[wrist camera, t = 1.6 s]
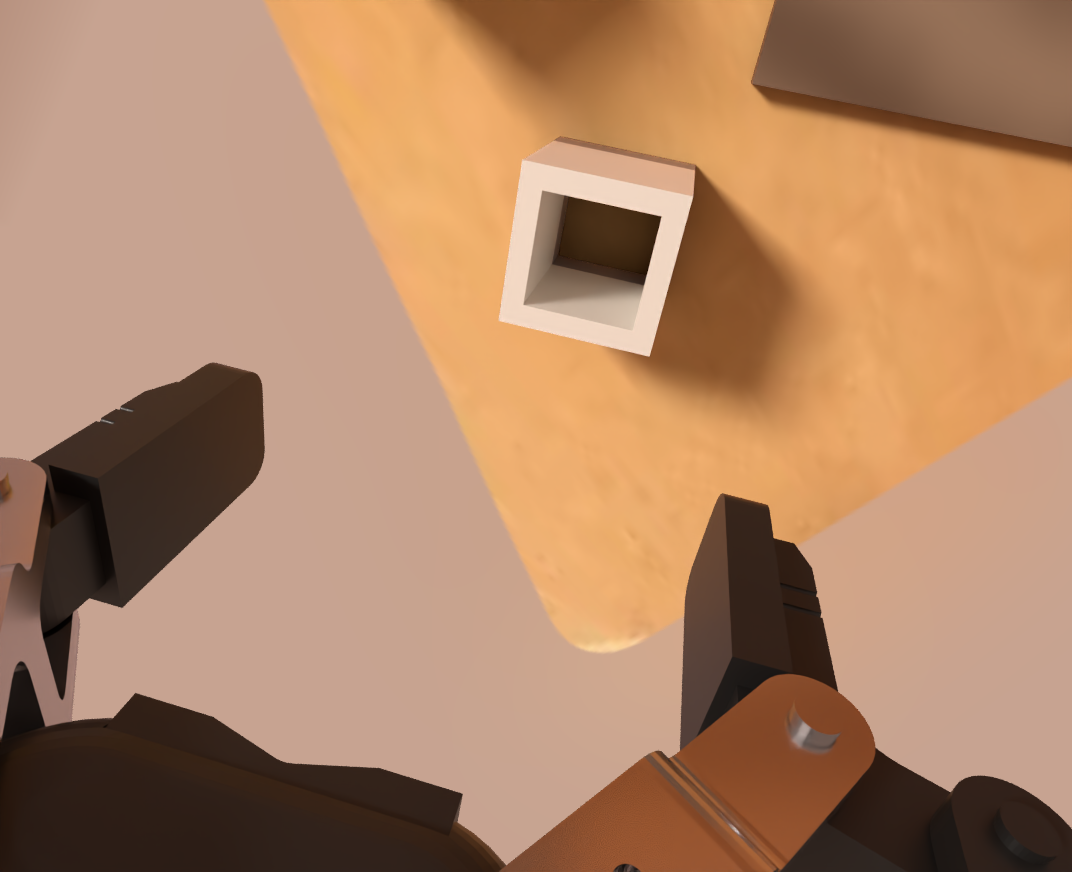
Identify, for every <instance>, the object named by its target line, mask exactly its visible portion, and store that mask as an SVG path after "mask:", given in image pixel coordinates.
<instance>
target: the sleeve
mask: <svg viewBox="0 0 1072 872" xmlns="http://www.w3.org/2000/svg"><path fill="white" fill-rule="evenodd" d="M695 166H696V165H694V164H689V163H684V162H680V161H675V160H670V159H665V158H661V157H656V156H651V155H646V154H642V153H637V152H632V151H627V150H623V149H618V148H613V147H608V146H604V145H599V144H594V143H589V142H585V141H580V140H575V139H570V138H566V137H561V136H560V137H559V138H557V139H555V140H554V141H552V142H551V143H549V144H547V145H546V146H544V147H542V148H541V149H539V150H537V151H536V152H534V153H533V154H531V155H529V156H528V157H526V158H524V159H523V160H522V166H521V173H520V179H519V186H518V193H517V200H516V207H515V213H514V220H513V227H512V234H511V241H510V247H509V254H508V261H507V268H506V274H505V281H504V288H503V295H502V302H501V308H500V315H499V321H502V322H506V323H510V324H515V325H519V326H523V327H527V328H531V329H535V330H540V331H544V332H548V333H552V334H556V335H561V336H565V337H569V338H573V339H577V340H582V341H586V342H590V343H594V344H598V345H602V346H607V347H611V348H615V349H619V350H623V351H628V352H632V353H636V354H640V355H644V356H649V357H650V353H651V349H652V346H653V342H654V338H655V335H656V331H657V327H658V324H659V320H660V316H661V313H662V309H663V305H664V302H665V298H666V295H667V291H668V287H669V284H670V280H671V276H672V273H673V269H674V265H675V262H676V258H677V254H678V251H679V247H680V243H681V240H682V236H683V232H684V229H685V225H686V221H687V218H688V214H689V210H690V207H691V203H692V199H693V193H694V180H695ZM569 196H570V197H575V198H580V199H584V200H589V201H593V202H598V203H602V204H607V205H612V206H616V207H621V208H625V209H630V210H634V211H639V212H644V213H648V214H653V215H657V216H662V218H661V221H660V225H659V229H658V233H657V237H656V241H655V245H654V249H653V253H652V257H651V261H650V265H649V269H648V273H647V275H642V274H638V273H634V272H629V271H625V270H620V269H616V268H612V267H607V266H603V265H598V264H594V263H590V262H585V261H581V260H576V259H572V258H568V257H563V256H559V255H558V254H559V249H560V243H561V238H562V232H563V227H564V221H565V216H566V211H567V205H568V200H569Z"/></svg>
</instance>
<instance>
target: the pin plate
mask: <svg viewBox="0 0 1072 872" xmlns="http://www.w3.org/2000/svg"><path fill="white" fill-rule="evenodd" d="M751 83H752V84H755V85H760V86H765V87H770V88H775V89H780V90H785V91H790V92H795V93H800V94H805V95H811V96H816V97H821V98H826V99H831V100H836V101H841V102H846V103H851V104H856V105H861V106H866V107H871V108H876V109H881V110H886V111H891V112H897V113H902V114H907V115H912V116H917V117H922V118H927V119H932V120H937V121H942V122H947V123H952V124H957V125H962V126H967V127H972V128H977V129H982V130H988V131H993V132H998V133H1003V134H1008V135H1013V136H1018V137H1023V138H1028V139H1033V140H1038V141H1043V142H1048V143H1053V144H1058V145H1063V146H1068V147H1072V0H775V1H774V5H773V8H772V12H771V15H770V19H769V22H768V26H767V29H766V32H765V36H764V39H763V43H762V46H761V50H760V53H759V57H758V60H757V63H756V67H755V70H754V74H753V77H752V81H751Z"/></svg>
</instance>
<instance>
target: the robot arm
mask: <svg viewBox="0 0 1072 872" xmlns="http://www.w3.org/2000/svg"><path fill="white" fill-rule="evenodd" d="M264 449H265V446H264V420H263V393H262V383H261V380H260V378H259V376H258V375H257V374H256V373H253V372H249V371H246V370H241V369H238V368H234V367H230V366H226V365H222V364H218V363H209V364H207V365H205V366H204V367H202V368H200V369H199V370H197V371H196V372H194V373H193V374H191V375H190V376H188V377H186V378H185V379H183V380H182V381H180V382H175V383H171V384H168V385H165V386H161V387H158V388H155V389H152V390H148V391H145V392H143V393H142V394H140V395H138V396H137V397H135V398H133V399H132V400H130V401H128V402H127V403H125V404H124V405H122V406H121V408H120V410H117V409H115V410H114V411H112V412H110V413H109V414H107V415H105V416H104V417H102V418H101V421H100V422H97V421H96V422H94V423H92V424H91V425H90V426H87V427H86V428H84V429H83V430H81V431H79V432H78V433H76V434H74V435H73V436H71V437H69V438H68V439H66V440H64V441H63V442H61V443H60V444H58V445H56V446H55V447H53V448H51V449H50V450H48V451H46V452H45V453H43V454H41V455H40V456H38V457H36V458H35V459H33V460H32V461H27V460H23V459H17V458H3V457H1V458H0V872H1072V829H1071V828H1070V827H1069V825H1068V824H1067V823H1066V822H1065V821H1064V820H1063V819H1062V818H1061V817H1060V816H1059V815H1058V814H1057V813H1055V812H1054V811H1053V810H1052V809H1051V808H1050V807H1049V806H1047V805H1046V804H1045V803H1043V802H1042V801H1041V800H1039V799H1038V798H1037V797H1035V796H1034V795H1032V794H1030V793H1029V792H1027V791H1026V790H1024V789H1022V788H1020V787H1018V786H1016V785H1014V784H1012V783H1009V782H1007V781H1004V780H1001V779H998V778H994V777H988V776H971V777H968V778H965V779H963V780H962V781H960V782H959V783H958V784H957V785H956V786H955V788H954V789H953V791H952V792H949V791H947V790H945V789H943V788H942V787H939V786H938V785H936V784H934V783H933V782H931V781H929V780H927V779H925V778H923V777H921V776H920V775H918V774H916V773H914V772H913V771H911V770H909V769H907V768H905V767H904V766H902V765H900V764H898V763H897V762H895V761H893V760H892V759H890V758H889V757H887V756H886V755H884V754H883V753H882V752H880V751H879V750H878V749H876V748H875V742H874V737H873V734H872V732H871V729H870V727H869V725H868V724H867V722H866V720H865V718H864V717H863V716H862V715H861V713H860V712H859V711H858V709H856V708H855V706H854V705H853V704H852V703H851V702H850V701H848V700H847V699H846V698H845V697H844V696H843V695H842V694H840V693H839V692H838V689H837V684H836V680H835V675H834V670H833V665H832V661H831V656H830V652H829V646H828V642H827V637H826V632H825V628H824V623H823V619H822V618H820V616H821V609H820V604H819V599H818V597H816V594H817V590H816V585H815V580H814V575H813V571H812V568H811V566H810V565H809V563H808V562H807V561H806V559H805V558H804V557H803V555H802V554H801V553H800V551H799V550H798V548H797V547H796V545H795V544H794V543H790V542H786V541H782V540H778V539H774V538H773V531H772V524H771V517H770V510H769V507H768V505H766V504H762V503H758V502H754V501H750V500H746V499H742V498H738V497H735V496H731V495H727V494H721V495H720V496H719V498H718V499H717V502H716V504H715V506H714V509H713V512H712V515H711V517H710V520H709V523H708V525H707V528H706V531H705V533H704V536H703V539H702V542H701V544H700V547H699V550H698V552H697V555H696V558H695V561H694V563H693V566H692V569H691V573H690V576H689V580H688V585H687V590H686V597H685V614H684V646H683V675H682V706H681V737H680V751H679V752H678V753H677V754H675V755H674V756H672V757H671V758H667V757H666V755H664V754H663V752H662V751H655V752H652V753H650V754H648V755H647V756H645V757H643V758H642V759H641V760H639V761H638V762H637V763H635V764H634V765H633V766H632V767H630V768H629V769H628V770H627V771H625V772H624V773H623V774H621V775H620V776H619V777H618V778H617V779H615V780H614V781H613V782H611V783H610V784H609V785H608V786H606V787H605V788H604V789H603V790H601V791H600V792H599V793H597V794H596V795H595V796H594V797H592V798H591V799H590V800H589V801H587V802H586V803H585V804H584V805H582V806H581V807H580V808H578V809H577V810H576V811H575V812H573V813H572V814H571V815H570V816H568V817H567V818H566V819H565V820H563V821H562V822H561V823H559V824H558V825H557V826H556V827H554V828H553V829H552V830H551V831H549V832H548V833H547V834H546V835H544V836H543V837H542V838H541V839H539V840H538V841H537V842H536V843H534V844H533V845H532V846H530V847H529V848H528V849H527V850H525V851H524V852H523V853H522V854H520V855H519V856H518V857H517V858H515V859H514V860H513V861H511V862H510V863H509V864H508V865H505V863H504V862H503V861H502V860H501V859H500V858H499V857H498V856H497V855H496V854H495V852H494V851H493V850H492V849H491V848H490V847H489V846H488V845H487V844H485V843H484V842H483V841H482V840H481V839H480V838H478V837H477V836H476V835H475V834H474V833H472V832H471V831H469V830H468V829H466V828H465V827H463V826H462V825H460V824H459V823H457V821H458V816H459V810H460V805H461V800H462V795H463V794H461V793H458V792H455V791H452V790H449V789H445V788H442V787H439V786H435V785H432V784H429V783H426V782H422V781H419V780H416V779H413V778H410V777H406V776H403V775H400V774H397V773H393V772H390V771H387V770H384V769H380V768H366V767H347V766H327V765H309V764H308V765H307V764H292V763H286V762H282V761H280V760H278V759H276V758H274V757H273V756H271V755H270V754H268V753H267V752H265V751H264V750H262V749H261V748H259V747H258V746H256V745H255V744H253V743H252V742H250V741H249V740H247V739H245V738H244V737H243V736H241V735H240V734H238V733H237V732H235V731H233V730H232V729H230V728H229V727H227V726H226V725H224V724H223V723H221V722H220V721H218V720H217V719H215V718H214V717H212V716H208V715H205V714H202V713H198V712H195V711H192V710H189V709H186V708H182V707H179V706H176V705H173V704H169V703H166V702H163V701H160V700H156V699H153V698H150V697H146V696H143V695H140V694H137V693H135V694H134V695H133V697H132V698H131V699H130V700H129V701H128V702H127V703H126V704H125V705H124V707H123V708H122V709H121V710H120V711H119V712H118V713H117V715H116V716H115V717H114V718H102V719H85V720H78V721H72V710H73V699H74V687H75V676H76V665H77V653H78V640H79V629H80V619H79V615H78V611H77V608H79V607H80V606H81V605H82V604H83V603H84V602H85V601H86V600H88V599H89V598H91V599H94V600H97V601H101V602H104V603H108V604H111V605H114V606H118V607H121V608H122V607H123V606H125V605H126V604H127V602H129V600H131V599H132V598H133V597H134V596H135V595H136V594H137V593H138V592H139V591H140V590H141V589H142V588H143V587H144V586H145V585H146V584H147V583H148V582H149V581H150V580H152V579H153V578H154V577H155V576H156V575H157V574H158V573H159V572H160V571H161V570H162V569H163V568H164V567H165V566H166V565H167V564H168V563H169V562H170V561H172V559H174V558H175V557H176V556H177V555H178V554H179V553H180V552H181V551H182V550H183V549H184V548H185V547H186V546H187V545H188V544H189V543H190V542H191V541H192V540H193V539H194V538H195V537H197V536H198V535H199V534H200V533H201V532H202V531H203V530H204V529H205V528H206V527H207V526H208V525H209V524H210V523H211V522H212V521H213V520H214V519H215V518H216V517H217V516H218V515H220V513H222V511H224V510H225V509H226V508H227V507H228V506H229V505H230V504H231V503H232V502H233V501H234V500H235V499H236V498H237V497H238V496H239V495H240V494H241V493H243V492H244V491H245V490H246V489H247V488H248V487H249V486H250V485H251V484H252V483H253V481H254V480H255V479H256V477H257V475H258V473H259V471H260V469H261V466H262V463H263V459H264V451H265V450H264Z"/></svg>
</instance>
